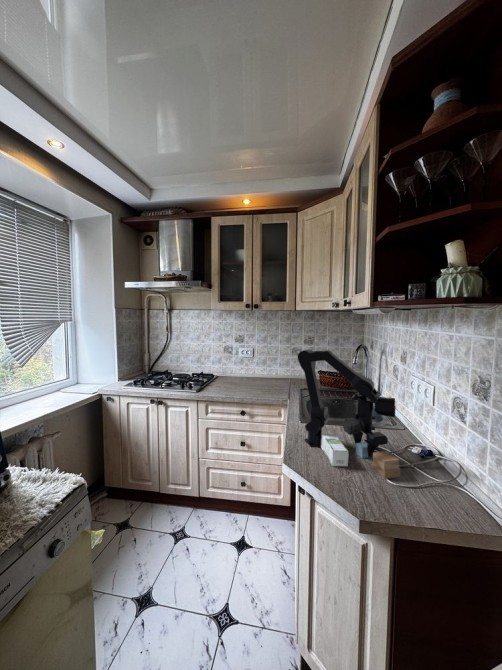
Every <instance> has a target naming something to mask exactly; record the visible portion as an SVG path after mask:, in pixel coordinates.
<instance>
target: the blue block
mask: <svg viewBox="0 0 502 670" xmlns="http://www.w3.org/2000/svg"><path fill="white" fill-rule="evenodd" d="M355 454H356V455H358V456H359V457H360V458H361V459H367V458H369V457H368V451H367V443H366V442H365V441H361V443H356V445H355Z"/></svg>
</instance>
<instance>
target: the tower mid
mask: <svg viewBox="0 0 502 670" xmlns="http://www.w3.org/2000/svg"><path fill="white" fill-rule="evenodd" d="M372 461H373V462H374V463H376V464H377V465H378V466H379V467H381V468H382V469H383V470H390V469H398V468H400V459H399V458H397V456H396V455H393V454H392V453H391V452H389V451H387V450H386V451H378V452H377V451H375V452H374V453H373V455H372Z"/></svg>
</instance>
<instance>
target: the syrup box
mask: <svg viewBox="0 0 502 670" xmlns="http://www.w3.org/2000/svg"><path fill="white" fill-rule="evenodd" d="M320 448H321V449H322V451H323V453H324V455H325V456H326V458H327V460H328V462H329V463H330V465H331V467H348V466H349V450H348V448H347V447H346V446H345V445H344V443H343V442H342V441H341V440H340V438H339V437H338V436H337V434H336V433H322V434H321V446H320Z"/></svg>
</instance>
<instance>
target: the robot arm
mask: <svg viewBox="0 0 502 670" xmlns="http://www.w3.org/2000/svg"><path fill="white" fill-rule="evenodd" d="M297 360H298V363H299V366H300V367H301V369H302V370H303V372H304V377H305V382H306V386H307V391H308V397H309V401H310V405H311V407H310V420H309V421H308V422H307V423H306V424H305V425H304V427H305V431H306V432H307V438H304V442H306V444H308V446H309V447H321V434H323V433H322V432H323V427H325V425H326V424H327V422H328V421H329V418H330V416H331V414H330V413H329V408H328V406H325V405H324V404H323V401H322V398H321V392H320V387H319V383H318V379H317V373H316V365H317V364H316V363H317V362H320V361H325V362H326V363H328V365H329V366H331V368H333V369H334V370H335V371H337V372H338V373H339V374H340V375H342V376H343V377H344V378H345V379H346V380H347V381H348V382H349V384H350V385H351V386H352V388H353V389H354V391H356V393H355V394H354V395H352V397H351V400H353V401H356V412H355V413H354V414H353V417H349V418H345V419H344V421H342V422H341V425H342V428H343V431H344V432H345V433H347V434H348V436H349V435H350V436H351V435H352V438H353V441H354V444H355V446H356V443H362V440H363V436H364V434H365V436H366V437H365V438H366V439H364V440H363V442H365V443H367V451H368V457H367V458H372V457H373V453H376V450H377V449H378V447H379V446H382V445H388V444H389V440H388V439H389V438H388V437H387V435H385V434H383V433H382V432H380V431H375V430H376V427H375V426H373V425H374V424H373V423H374V420H376V415H374V412H376V413H375V414H377V415H378V416H383V417H389V418H393V419H394V418H396V408H397V407H396V398H394V397H383V396H380V393H379V392H378V391H377V389H376V388H375V383H374V381H373V380H372V379H371V378H368V377H367V376H364V375H363V374H360V373H358V372H357V371H355V370H354V369H353V368H352V367H350V366H349V365H347V363H345V362H344V361H343V360H341V359H340V358H339V357H338V356H336V355H335V354H334V353H333V351H331V350H329V349H325V350H313V349H305V350H301V351H299V352H298V354H297ZM373 431H374V432H373Z"/></svg>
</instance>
